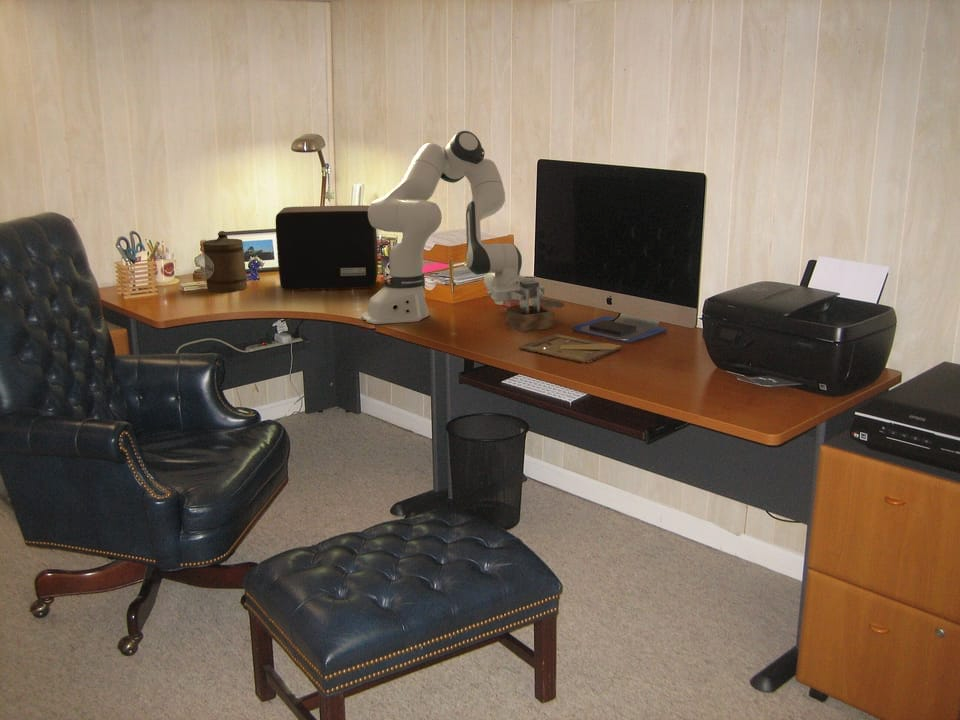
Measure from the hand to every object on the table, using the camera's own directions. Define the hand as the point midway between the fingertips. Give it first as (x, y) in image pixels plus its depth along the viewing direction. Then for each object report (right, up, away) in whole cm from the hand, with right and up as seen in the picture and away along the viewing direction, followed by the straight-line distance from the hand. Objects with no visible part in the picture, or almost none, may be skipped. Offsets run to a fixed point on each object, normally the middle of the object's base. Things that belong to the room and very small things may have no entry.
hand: (531, 296), depth 300 cm
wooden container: (-113, +7, +63) cm, 130 cm away
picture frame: (+10, -18, -23) cm, 31 cm away
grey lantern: (0, -8, +3) cm, 8 cm away
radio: (-74, +8, +65) cm, 99 cm away
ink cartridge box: (-7, -1, +32) cm, 33 cm away
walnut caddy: (0, -9, +3) cm, 10 cm away
